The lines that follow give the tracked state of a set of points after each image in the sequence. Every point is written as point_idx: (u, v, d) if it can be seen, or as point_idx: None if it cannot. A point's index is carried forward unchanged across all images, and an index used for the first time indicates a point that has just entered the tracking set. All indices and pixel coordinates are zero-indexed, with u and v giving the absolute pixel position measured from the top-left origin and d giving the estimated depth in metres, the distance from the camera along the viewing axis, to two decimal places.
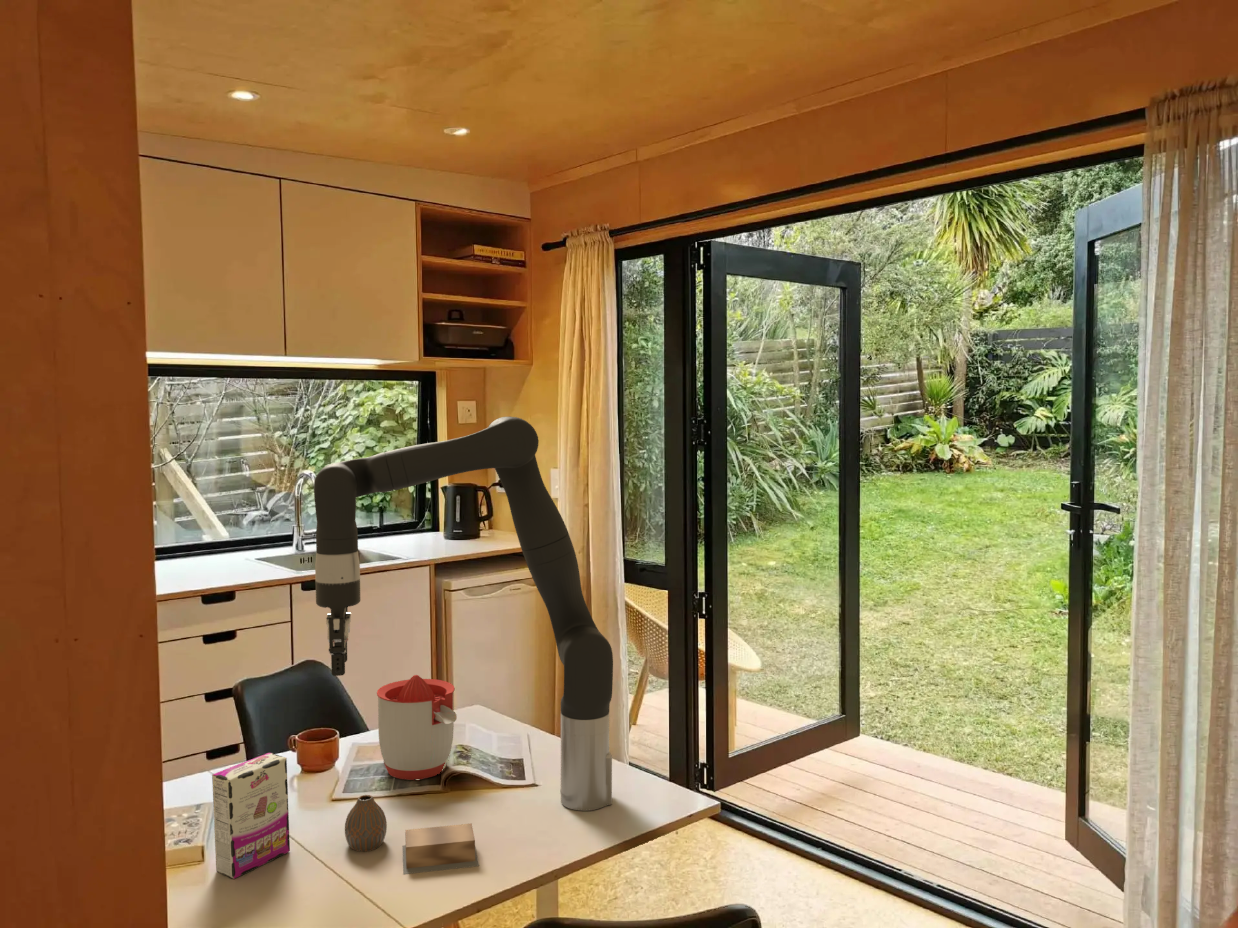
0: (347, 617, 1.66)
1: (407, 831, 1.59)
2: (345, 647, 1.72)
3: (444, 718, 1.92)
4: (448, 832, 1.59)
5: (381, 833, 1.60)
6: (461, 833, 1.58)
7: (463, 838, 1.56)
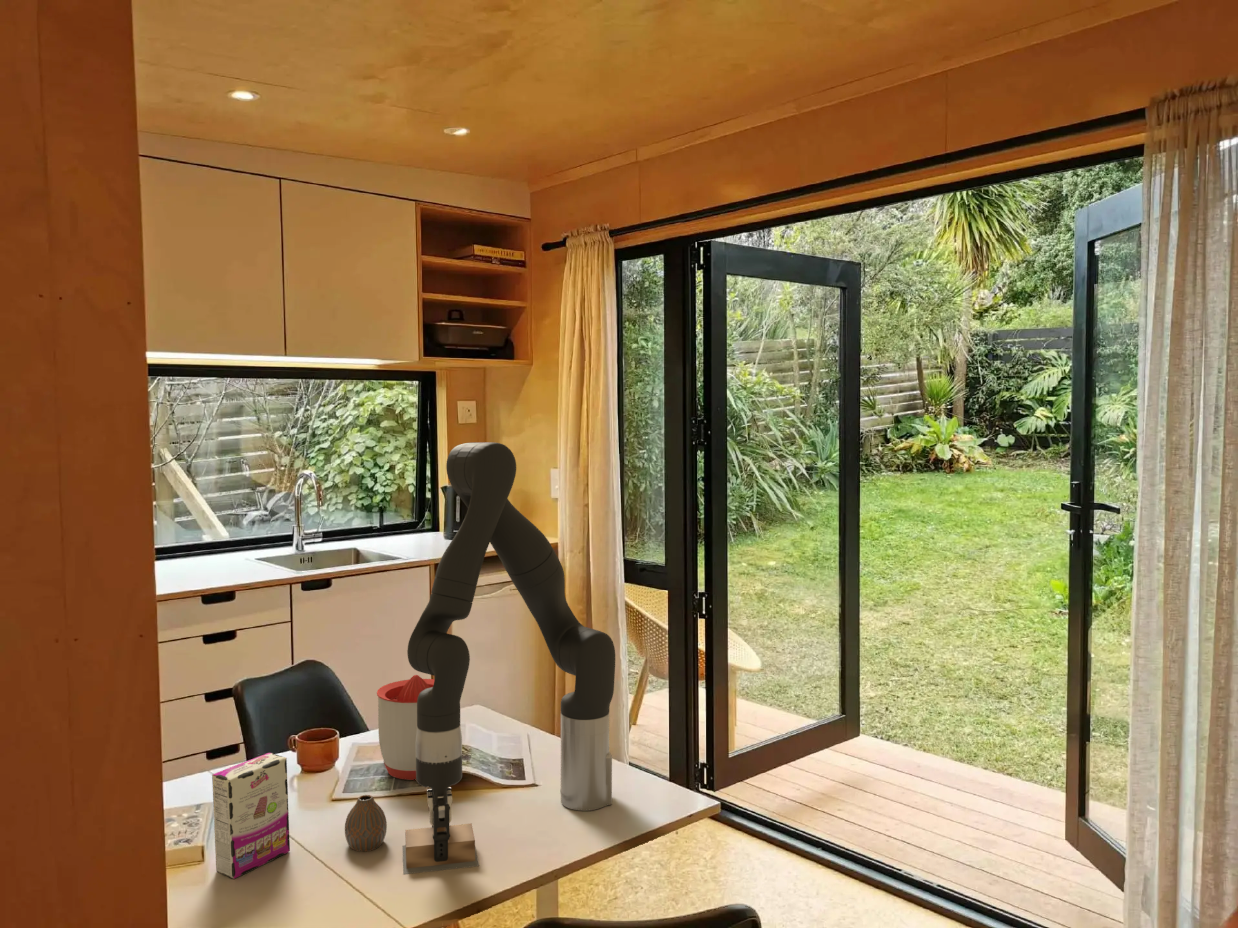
0: (449, 796, 1.56)
1: (407, 831, 1.59)
2: None
3: None
4: None
5: (381, 833, 1.60)
6: (461, 833, 1.58)
7: (463, 838, 1.56)
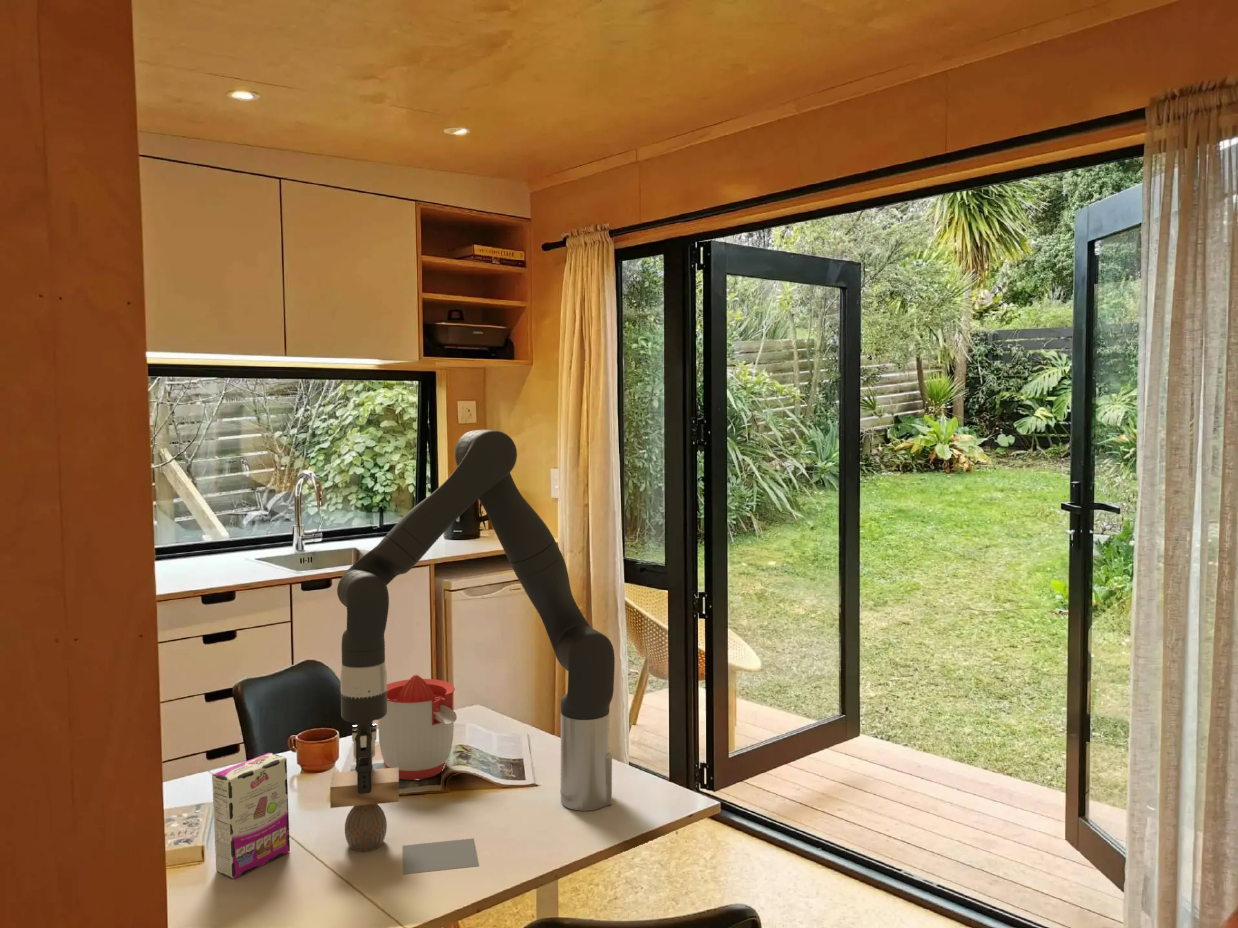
0: (373, 730, 1.59)
1: (334, 773, 1.63)
2: None
3: (444, 718, 1.92)
4: (374, 774, 1.62)
5: (381, 833, 1.60)
6: (387, 775, 1.62)
7: (388, 780, 1.60)
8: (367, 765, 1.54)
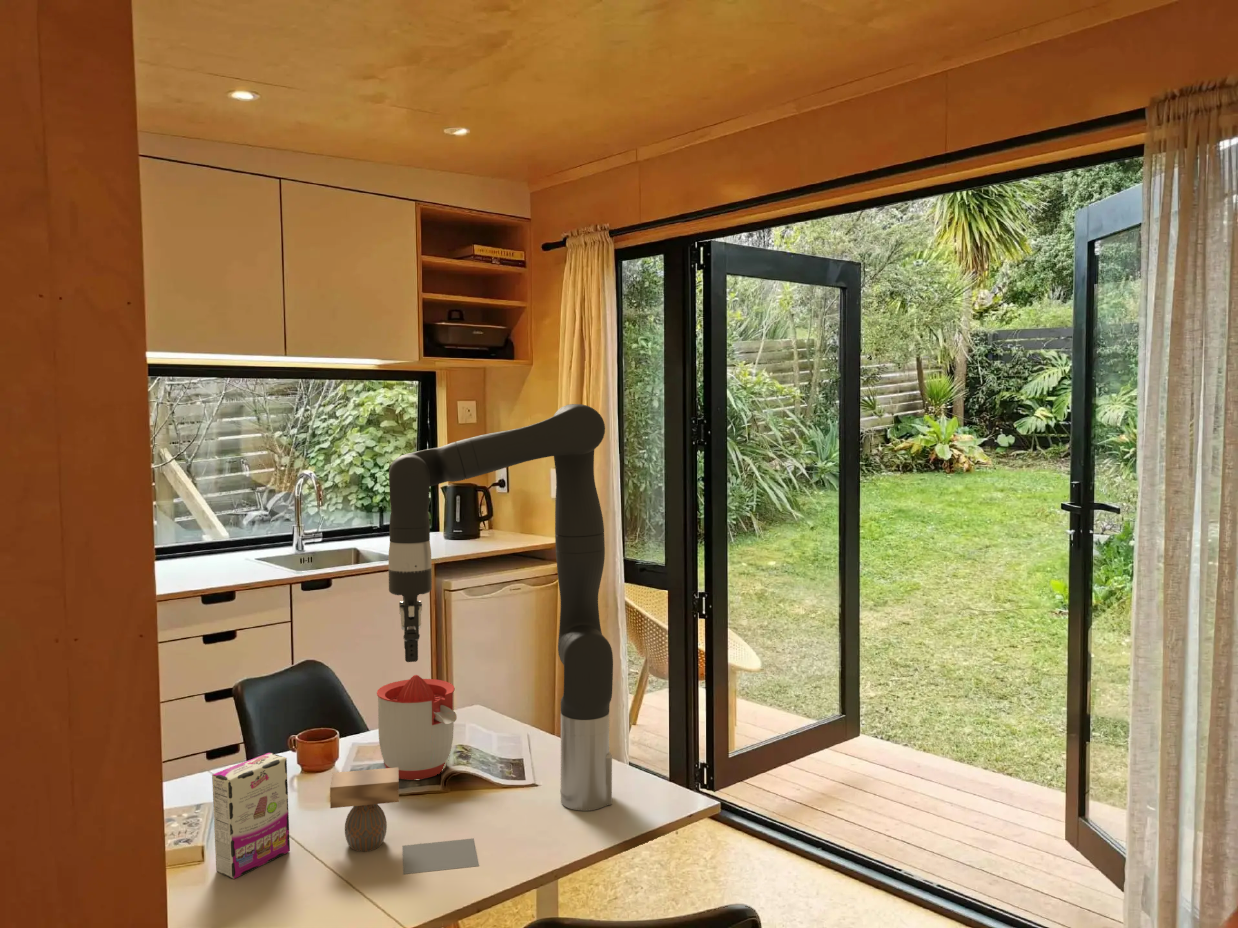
0: (419, 605, 1.70)
1: (334, 774, 1.63)
2: None
3: (444, 718, 1.92)
4: (374, 774, 1.62)
5: (381, 833, 1.60)
6: (386, 775, 1.62)
7: (388, 780, 1.60)
8: (415, 633, 1.65)
